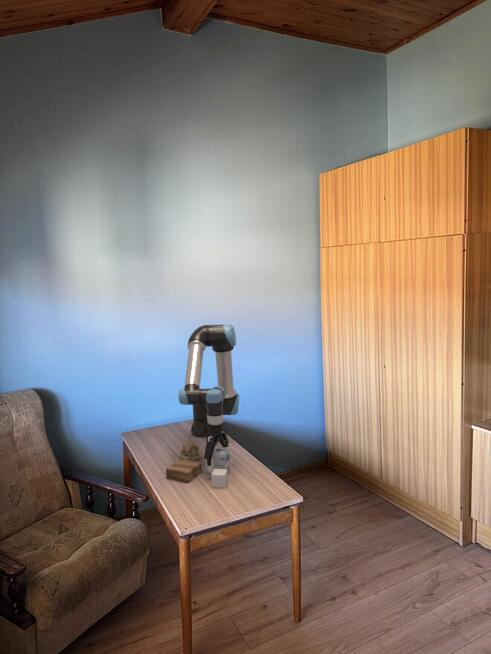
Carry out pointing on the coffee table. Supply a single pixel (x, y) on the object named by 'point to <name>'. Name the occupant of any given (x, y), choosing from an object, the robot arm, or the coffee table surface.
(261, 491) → the coffee table surface
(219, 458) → the light bulb box
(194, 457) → the ceramic model
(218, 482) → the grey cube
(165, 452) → the coffee table surface
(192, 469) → the base block
